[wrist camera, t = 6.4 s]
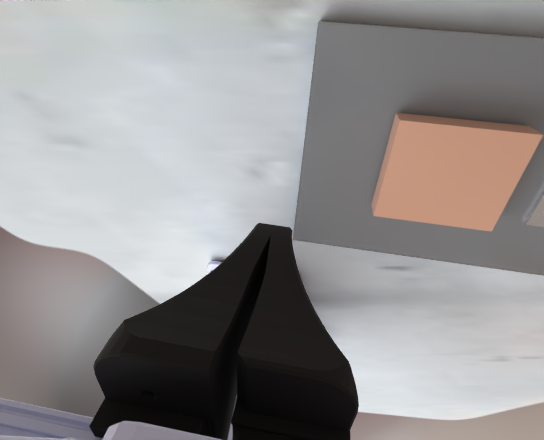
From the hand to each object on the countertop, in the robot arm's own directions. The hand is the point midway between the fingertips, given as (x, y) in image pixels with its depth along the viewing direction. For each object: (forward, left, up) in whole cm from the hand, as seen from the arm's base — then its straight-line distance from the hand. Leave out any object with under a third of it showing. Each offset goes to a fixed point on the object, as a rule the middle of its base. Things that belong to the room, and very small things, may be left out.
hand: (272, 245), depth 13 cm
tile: (0, -5, -8) cm, 10 cm away
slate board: (0, -9, -10) cm, 14 cm away
